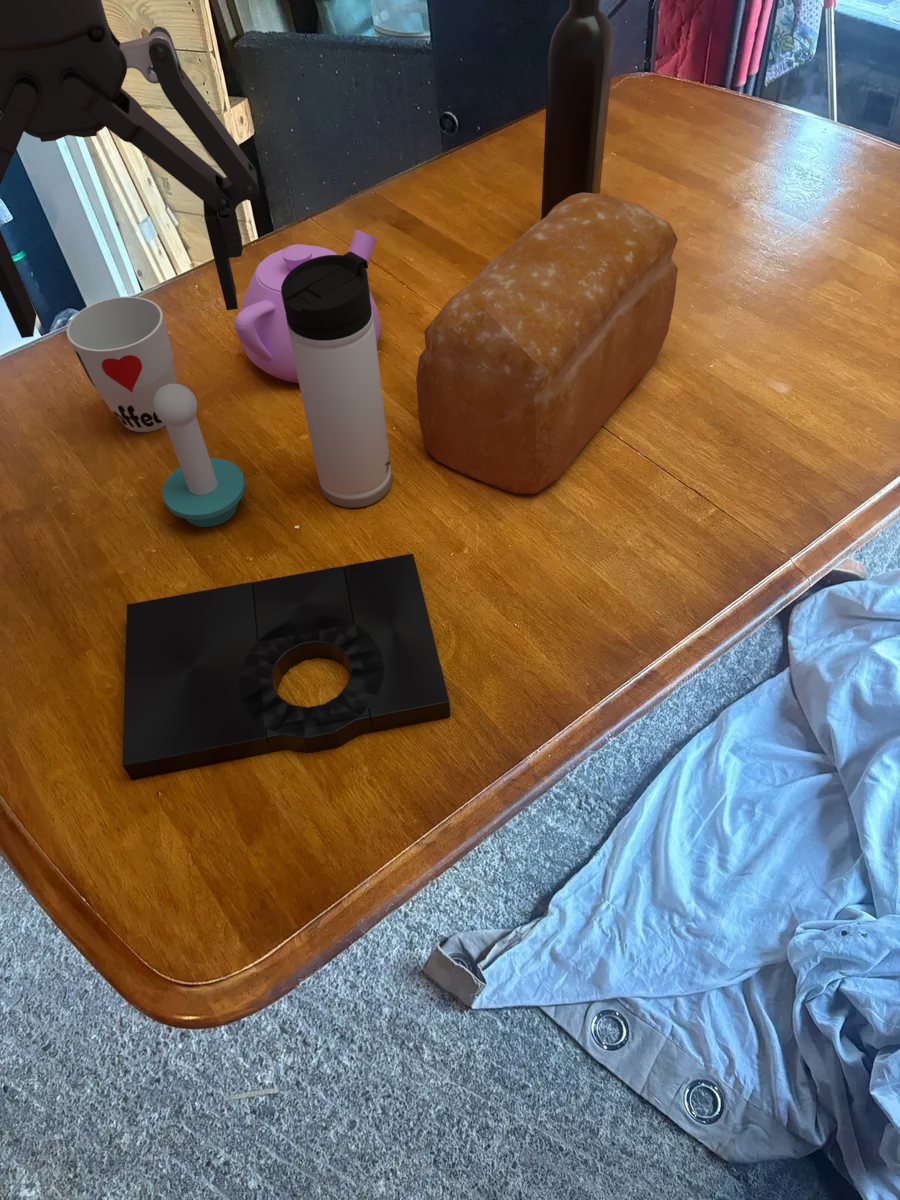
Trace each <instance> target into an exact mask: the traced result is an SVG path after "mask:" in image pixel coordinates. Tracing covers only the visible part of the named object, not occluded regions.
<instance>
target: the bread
mask: <svg viewBox="0 0 900 1200" xmlns="http://www.w3.org/2000/svg"><path fill="white" fill-rule="evenodd" d="M678 240H679V239H678V237H677V235H676V233H675V230H674V228H673V227H672V224H671V222H670V221H667V220H666V219H664V218H662V217H661V216H659V215H657V214H656V213H654V212H653V211H651V210H649V209H648V208H646V207H644V206H642V205H641V204H639V203H637V202H634V201H629V200H626V199H623V198H619V197H616V196H613V195H608V194H605V193H600V194H595V193H578V194H575V195H571V196H569V197H568V198H566V199H565V200H563V201H562V202H560V203H559V204H557V205H556V206H554V207H553V209H552V210H551V211H550V212H549V214H548V215H547V216H546V217H545V218H543V219H542V220H541V219H540V220H538V221H537V222H536V223H534V224H533V225H532V226H531V227H530V228H528V229H527V230H526V231H525V232H524V233H523V234H522V235H520V236H519V237H518V238H517V239H516V240H514V241H513V243H511V244H510V245H509V246H507V247H506V248H505V249H504V250H503V251H502V252H501V253H499V254H498V255H497V256H496V257H494V259H492V260H491V261H490V262H489V263H487V264H486V265H485V266H484V268H482V270H481V271H480V272H479V273H478V274H477V275H476V277H475V278H473V280H472V281H471V282H470V283H469V284H468V285H466V286H465V287H463V288H462V289H460V290H459V291H458V292H456V293H455V294H453V295H452V296H451V297H450V298H449V299H448V300H447V302H446V303H445V304H444V305H443V306H442V308H441V309H440V310H439V312H438V313H437V315H436V316H434V318H433V319H432V320H431V321H430V323H429V324H428V325H427V327H426V328H425V330H424V331H423V332H424V342H425V343H424V344H425V348H424V349H423V351H422V352H421V353H420V355H419V356H418V363H417V371H416V377H415V378H416V379H415V381H416V395H417V408H418V422H419V428H420V432H421V436H422V437H421V438H422V441H423V446H424V449H425V450H426V451H427V452H428V453H429V454H430V455H431V456H432V457H433V459H434V460H435V461H436V462H438V463H440V464H443V465H444V466H446V467H448V468H451V469H453V470H454V471H457V472H459V473H460V474H463V475H466V476H468V477H470V478H473V479H474V480H477V481H480V482H481V483H485V484H487V485H489V486H493V487H496V488H499V489H501V490H504V491H507V492H510V493H513V494H537V493H540V492H541V491H542V490H544V489H545V488H546V487H548V486H549V485H550V484H552V483H553V482H554V481H556V480H557V479H558V478H560V477H561V476H562V475H563V473H564V472H565V471H566V469H567V468H568V467H569V466H570V464H571V463H572V462H573V461H574V459H575V458H576V457H577V456H578V454H579V453H580V452H581V451H582V450H583V449H584V448H585V446H586V445H587V444H588V443H589V442H590V440H591V439H592V438H593V437H594V436H595V434H596V433H597V432H598V431H599V430H600V429H601V427H602V426H603V425H604V424H605V423H606V422H607V420H608V419H609V418H610V417H611V416H612V414H614V412H615V410H616V409H617V408H618V407H619V405H620V404H621V403H622V401H623V400H624V399H625V398H626V397H627V395H628V394H629V393H630V392H631V391H632V389H633V388H634V387H635V386H636V385H637V384H638V383H639V382H640V380H641V379H642V378H643V377H644V376H645V374H646V373H647V372H648V371H649V370H650V368H651V367H652V366H653V364H654V363H655V362H656V361H657V360H656V359H657V358H658V356H659V353H660V352H661V350H662V347H663V345H664V343H665V340H666V338H667V335H668V332H669V328H670V324H671V319H672V314H673V309H674V303H675V296H676V287H677V280H678V279H677V278H678V271H679V268H678V266H677V265H676V262H675V261H674V260H673V258H672V256H673V254H674V251H675V248H676V245H677V244H678V243H677V242H678Z"/></svg>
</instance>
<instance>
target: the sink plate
mask: <svg viewBox="0 0 900 1200" xmlns="http://www.w3.org/2000/svg"><path fill="white" fill-rule="evenodd" d="M416 563H417V562H416V559H415V556H414V553H408V554H402V555H396V556H391V557H385V558H380V559H374V560H369V561H363V562H357V563H352V564H345V565H342V566H341V565H340V566H335V567H329V568H323V569H317V570H313V571H308V572H301V573H296V574H290V575H285V576H279V577H274V578H273V577H272V578H267V579H262V580H261V579H260V580H255V581H250V582H244V583H239V584H233V585H228V586H222V587H215V588H210V589H205V590H199V591H193V592H188V593H182V594H177V595H171V596H166V597H165V596H164V597H160V598H159V597H158V598H155V599H149V600H144V601H137V602H132V603H127V604H126V619H125V620H126V622H125V623H126V624H125V653H124V654H125V656H124V659H125V660H124V687H123V688H124V693H123V695H124V696H123V725H122V726H123V727H122V728H123V730H122V761H121V763H122V765H121V766H122V768H123V769H124V771H125V772H126V774H127V776H128V777H129V778H130V780H131V781H135V780H139V779H145V778H150V777H154V776H159V775H164V774H165V775H166V774H169V773H175V772H179V771H184V770H190V769H196V768H200V767H205V766H210V765H211V766H212V765H215V764H220V763H225V762H231V761H234V760H235V761H236V760H240V759H245V758H250V757H256V756H261V755H265V754H271V753H273V752H275V753H276V752H279V751H283V750H284V751H285V750H288V751H294V752H300V753H311V754H312V753H315V752H316V753H317V752H321V751H326V750H331V749H335V748H336V749H337V748H339V747H341V746H343V745H345V744H347V743H348V742H349V741H351V740H353V739H355V738H356V737H358V736H361V735H366V734H369V733H370V734H371V733H373V732H374V733H377V732H380V731H386V730H391V729H396V728H401V727H407V726H412V725H417V724H421V723H427V722H432V721H436V720H437V721H438V720H442V719H447V718H451V702H450V698H449V693H448V689H447V685H446V682H445V678H444V673H443V670H442V669H443V668H442V664H441V662H440V656H439V653H438V649H437V648H438V647H437V644H436V641H435V637H434V632H433V629H432V624H431V620H430V616H429V612H428V608H427V604H426V600H425V595H424V593H423V587H422V584H421V580H420V575H419V572H418V567H417V564H416ZM317 658H321V659H329V660H334V661H335V662H337V663H339V664H341V665H343V666H344V667H345V668H346V670H347V671H348V673H349V677H348V679H347V682H346V686H345V687H344V688H343V689H342V690H341V692H340V693H338V695H337V696H336V697H334V698H332V699H330V700H329V701H327V702H325V703H322V704H318V705H312V706H301V705H296V704H292V703H290V702H288V701H287V700H285V699H283V698H281V696H280V694H279V690H278V689H279V687H280V684H281V682H282V678H283V677H284V676H285V675H286V674H287V673H288V671H290V669H292V668H293V667H295V666H296V665H299V664H301V663H302V662H304V661H307V660H312V659H317Z"/></svg>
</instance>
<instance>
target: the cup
mask: <svg viewBox="0 0 900 1200" xmlns="http://www.w3.org/2000/svg"><path fill="white" fill-rule="evenodd" d="M66 336H67V338H68V341H69V343H70V345H71V346H72V348H73V351H74V352H75V354H76V357H77V358H78V360H79V362H80V365H81V366H82V368H83V370H84V373H85V374H86V376H87V378H88V379H89V381H90V383H91V384H92V386H93V387H94V388H95V390H96V392H97V393H98V395H99V396H100V398H101V399H102V401H103V403H104V404H105V405H106V407H107V408H108V409H109V410H110V411H111V413H112V414H113V415H114V416H115V417H116V418H117V419H118V421H120V422H121V424H122V425H123V426H124V427H125V428H126V429H127V430H129V431H132V432H135V433H149V432H154V431H157V430H160V429H163V428H164V427H166V425H165V423H164V422H162V421H161V420H160V419H159V418H158V417H157V415H156V413H155V411H154V406H153V401H154V397H155V394H156V393H157V391H158V390H159V389H160V388H161V387H163V386H165V385H167V384H172V383H175V384H177V375H176V368H175V362H174V353H173V350H172V345H171V341H170V338H169V333H168V330H167V326H166V323H165V319H164V314H163V311H162V309H161V307H160V306H159V305H158V304H157V303H155V302H154V301H153V300H150V299H148V298H145V297H139V296H117V297H110V298H106V299H103V300H100V301H99V300H98V301H97V302H94V303H92V304H90V305H88V306H85V307H84V308H82V309H81V310H80V311H78V312H77V313H76V314H75V315H74V316H73V317H72V318H71V319H70V321H69V322H68V324H67V327H66Z"/></svg>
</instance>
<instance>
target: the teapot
mask: <svg viewBox="0 0 900 1200" xmlns="http://www.w3.org/2000/svg"><path fill="white" fill-rule="evenodd" d="M377 238H378V237H376V236H374V235H372V234H369V233H367V232H364V231H361V230H359V229H355V230H354V232H353V236H352V239H351V241H350V246H349V249H348V251H347V253H348V252H350V251H351V252H353V253H355V254H356V255H358V256H360V257H362V258H364V259H365V260H367V263H368V265H369V264H370V261H371V258H372V254H373V251H374V248H375V246H376V242H377ZM326 255H339V254H338V253H337V252H335V251H333V250H331V249H329V248H326V247H324V246H323V247H322V246H318V245H307V244H301V243H296V244H291V245H287V246H286V247H285V248H282V249H279V250H278V251H275V252H273V253H271V254H270V255H268V256H267V257H265V258H264V259H263V260H262V261H261V262H260V263H259V264H258V265H257V266H256V269H255V271H254V273H253V274H252V277H251V279H250V281H249V283H248V286H247V288H246V291H245V293H244V297H243V300H242V303H241V306H240V307H241V308H240V311H239V312H238V313H237V314H236V316H235V318H234V329H235V332H236V334H237V336H238V338H239V340H240V343H241V345H242V350H243V351H244V354H245V355H246V356H247V358H248V359H249V360H250V362H251V363H252V364H254V365H255V367H258V368H259V369H261V370H262V371H264V372H265V373H267V374H268V375H271V376H272V377H274V378H277V379H279V380H282V381H285V382H289V383H294V384H299V381H298V376H297V371H296V366H295V361H294V356H293V351H292V347H291V342H290V337H289V332H288V331H289V330H288V327H287V322H286V319H287V318H286V312H285V308H284V303H283V298H282V294H281V286H282V283H283V281H284V279H285V278H286V276H287V275H288V274H289V273H290V272H291V271H292V270H293V269H294V268H295V267H297V266H298V265H300V264H302V263H303V262H305V261H308V260H310V259H313V258H316V257H320V256H326ZM365 269H366V268H365ZM366 271H367V272H368V268H367V269H366ZM369 292H370V302H371V308H372V311H373V320H374V328H375V336H376V345H377V344H378V342H379V340H380V336H381V332H382V325H381V317H380V313H379V310H378V308H377V305H376V302H375V299H374V297H373V295H372V293H371V291H370V290H369ZM377 346H378V345H377Z"/></svg>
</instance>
